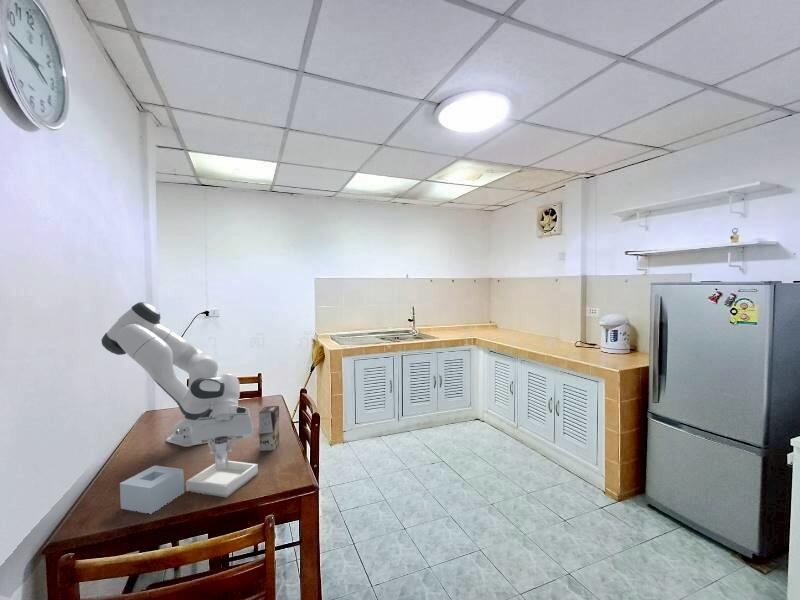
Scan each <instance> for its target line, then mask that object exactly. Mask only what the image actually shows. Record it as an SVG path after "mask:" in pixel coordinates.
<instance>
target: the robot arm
mask: <svg viewBox="0 0 800 600" xmlns="http://www.w3.org/2000/svg"><path fill="white" fill-rule="evenodd" d="M160 321H161V313H160V312H159V310H158V309H157V308H156V307H155V306H154V305H152V304H149V303H146V302H142V301H141V302H137V303H135V304H134V305H132V306H131V308H130V309H128V310H127V311H126V312H125V313H124V314H123V315H120V317H119V318H118V319H117V321H116V322H115V323H114V324H113V325H112V326H111V327H110V328H109V330H108V331H107V332H105V334H104V335H103V336H102V338H101V345H102V346H103V348H104V349H106V350H107V351H108V352H109V353H111V354H115V355H118V356H121V355H122V356H123V355H128V357H130V358H131V359H132V360H133V361H135V362H136V364H138V365H139V366H141V367H142V368H143V369H144V370H145V371H146V373H148V375H149V376H150V377H151V379H153V381H154V382H155V383H156V384H157V385H158V386H159V387H160V388H161V389H162V390H163V391H164V392H165V393H166V394H167V395H168V396H169V397H170V398H172V400H174V402H175V403H176V404H177V405H178V407H179V410H180V411H181V413H182V415H184V418H182V419H181V420H180V421H178V422H177V423H176V424H174V427H173V428H172V434H171V435H170V436H168V437H167V438H166V442H167V443H170V444H173V445H178V446H181V447H184V448H185V447H186V448H187V447H193V446H196V445H203V444H207V445H208V447H209V449H210V450H209V453H210V455H213V454H214V455H215V446H213V445H214V443H215V438H217V437H222V436H227V441H231V442H230V444H228V446H227V452H228V453H229V452H233V447H234V446H235V445H236V443H237V440H241V439H248V438H249V439H250V438H253V435H254V424H253V419H252V416H251V414H252V413H251V411H250V409H249V408H247V407H243V406H240V405H239V400H240V394H241V388H240V386H241V385H240V380H239V379H238V377H237V376H235V375H234V374H232V373H223V374H220V375H219V376H217V373H218V369H219V368H218V362H217V360H216V359H215V358H214V357H213V356H211V355H210V354H208V353H205V351H202V350H201V349H199V348H198V347H197V346H195V345H193V344H192V343H191V342H189V341H188V340H186V339H185V338H183V337H182V336H180V335H179V334H177V333H176V332H174V331H173V330H171V329H169V328H168V327H166V326H165V325H162V324H161V322H160ZM174 366H175V367H177V368H178V369H181V370H182V371H184V372H186V374H188V385H186V383H184V382H183V381H182V380H181V379H180V378H179V377H178V376H177V374H176V372H175V370H174V369H175V368H174Z"/></svg>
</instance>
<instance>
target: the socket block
mask: <svg viewBox="0 0 800 600" xmlns="http://www.w3.org/2000/svg"><path fill="white" fill-rule="evenodd" d="M119 491H120V492H119V494H120V496H119V497H120V509H122V510H127V511H131V512H136V511H137V512H138V513H142V514H147V513H149V514H148V515H152V513H153V512H154V513H156V512H157V511H158V510H161V507H162V508H163V507H164V505H165V506H166V505H168V504H170V503H171V502H173V501H174V500H176V499H177V498H178V496H179V497H180V496H182V495H183V494H184V493H185V479H184V469H183V468H176V467H170V466H162V465H153V466H151V467H149V468H147V469H144V470H142V471H141V472H139V473H136V474H135V475H134V476H131V477H130V478H127V479H126V480H124V481H121V482H119ZM181 494H182V495H181ZM175 498H176V499H175ZM173 499H174V500H173ZM167 503H168V504H167ZM155 511H156V512H155ZM154 513H153V514H154Z"/></svg>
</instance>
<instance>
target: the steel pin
mask: <svg viewBox="0 0 800 600" xmlns="http://www.w3.org/2000/svg"><path fill="white" fill-rule="evenodd" d="M228 443H229V442H228V440H227V436H222V437H217V438H215V442H214V447H215V453H214V460H215V461H214V464H215V468H216V469H224V468H226V467H228V461H229V452H227V446H228V445H229V444H228Z"/></svg>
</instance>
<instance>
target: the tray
mask: <svg viewBox="0 0 800 600" xmlns="http://www.w3.org/2000/svg"><path fill="white" fill-rule="evenodd" d="M258 466H259V464H258V463H250V462H243V461H236V460H235V461H234V460H228V467H226V468H224V469H216V468H215V463H212V465H210V466H208V467H206V468H205V469H203V470H202V471H200V472H199V473H197V474H196V475H193V476H192V477H190V478H189V479H187V480H186V481H185V484H186V485H185V486H186V489H185V490H186V492H188V491H191V492H190V493H194V492H195V493H197V494H200V493H201V494H202V495H208V496H213V497H219V498H220V497H221V498H228V497H230V496H231V495H232V494H233V493H235V492H236V491H237V490H239V489H241V487H242V486H244V485H245V484H247V483H248V482H249V481H250V480H252V479H253V478H255V476H257V475H258V474H259V467H258Z"/></svg>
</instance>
